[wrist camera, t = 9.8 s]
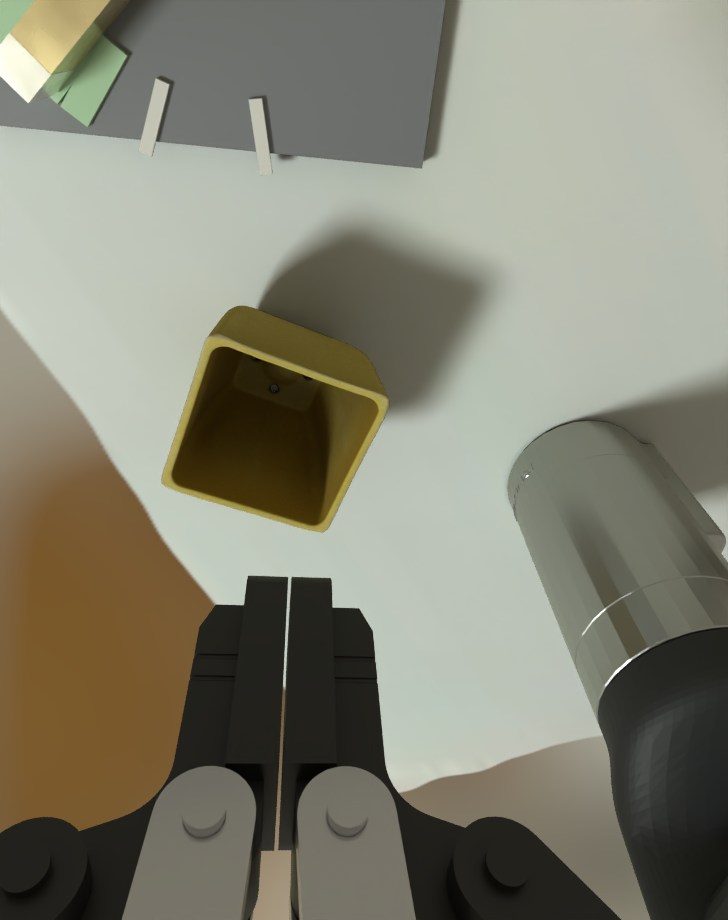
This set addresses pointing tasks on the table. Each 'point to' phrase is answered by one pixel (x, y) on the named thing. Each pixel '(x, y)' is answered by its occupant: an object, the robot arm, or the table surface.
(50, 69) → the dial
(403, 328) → the table surface
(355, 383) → the flower pot
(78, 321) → the table surface
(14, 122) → the board
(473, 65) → the table surface
